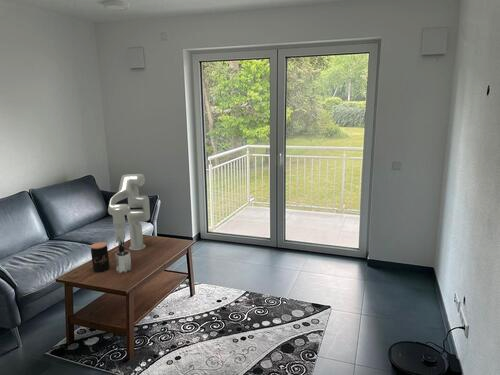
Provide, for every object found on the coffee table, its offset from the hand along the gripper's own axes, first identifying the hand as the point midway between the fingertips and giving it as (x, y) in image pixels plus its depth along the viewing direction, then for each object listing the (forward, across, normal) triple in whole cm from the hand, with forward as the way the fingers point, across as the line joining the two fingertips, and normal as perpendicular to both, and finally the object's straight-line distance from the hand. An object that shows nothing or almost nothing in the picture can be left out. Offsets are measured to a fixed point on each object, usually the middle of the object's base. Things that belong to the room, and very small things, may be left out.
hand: (122, 250), depth 257 cm
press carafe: (+14, -1, 0) cm, 14 cm away
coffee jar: (+15, -4, -16) cm, 22 cm away
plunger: (+10, 0, 0) cm, 10 cm away
